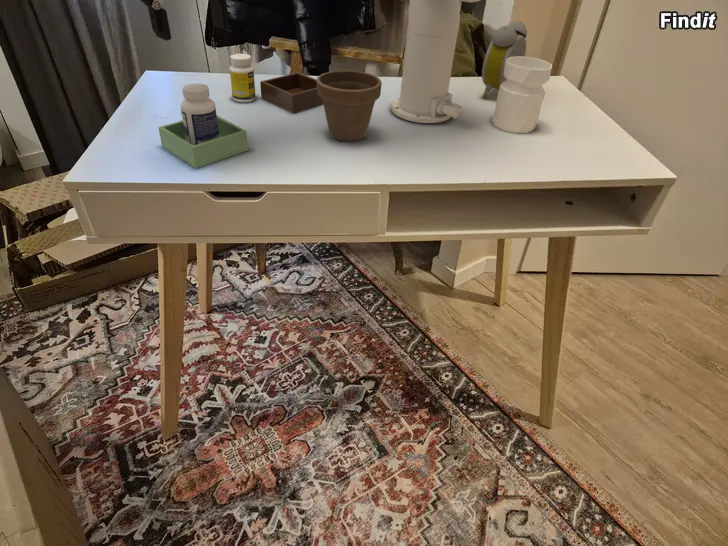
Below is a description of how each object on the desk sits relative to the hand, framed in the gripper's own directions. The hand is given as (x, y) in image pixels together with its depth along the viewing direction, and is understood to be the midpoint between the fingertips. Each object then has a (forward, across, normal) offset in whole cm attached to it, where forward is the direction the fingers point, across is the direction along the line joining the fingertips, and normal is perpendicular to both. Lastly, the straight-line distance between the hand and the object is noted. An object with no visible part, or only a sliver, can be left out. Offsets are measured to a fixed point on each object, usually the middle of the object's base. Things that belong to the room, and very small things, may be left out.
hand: (193, 32), depth 74 cm
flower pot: (+19, +22, -11) cm, 31 cm away
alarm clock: (+20, +64, -19) cm, 70 cm away
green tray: (+18, -1, 0) cm, 18 cm away
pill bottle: (+18, -1, 0) cm, 18 cm away
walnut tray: (+18, +26, +8) cm, 33 cm away
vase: (+19, +51, -30) cm, 62 cm away
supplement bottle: (+18, +18, +15) cm, 29 cm away
